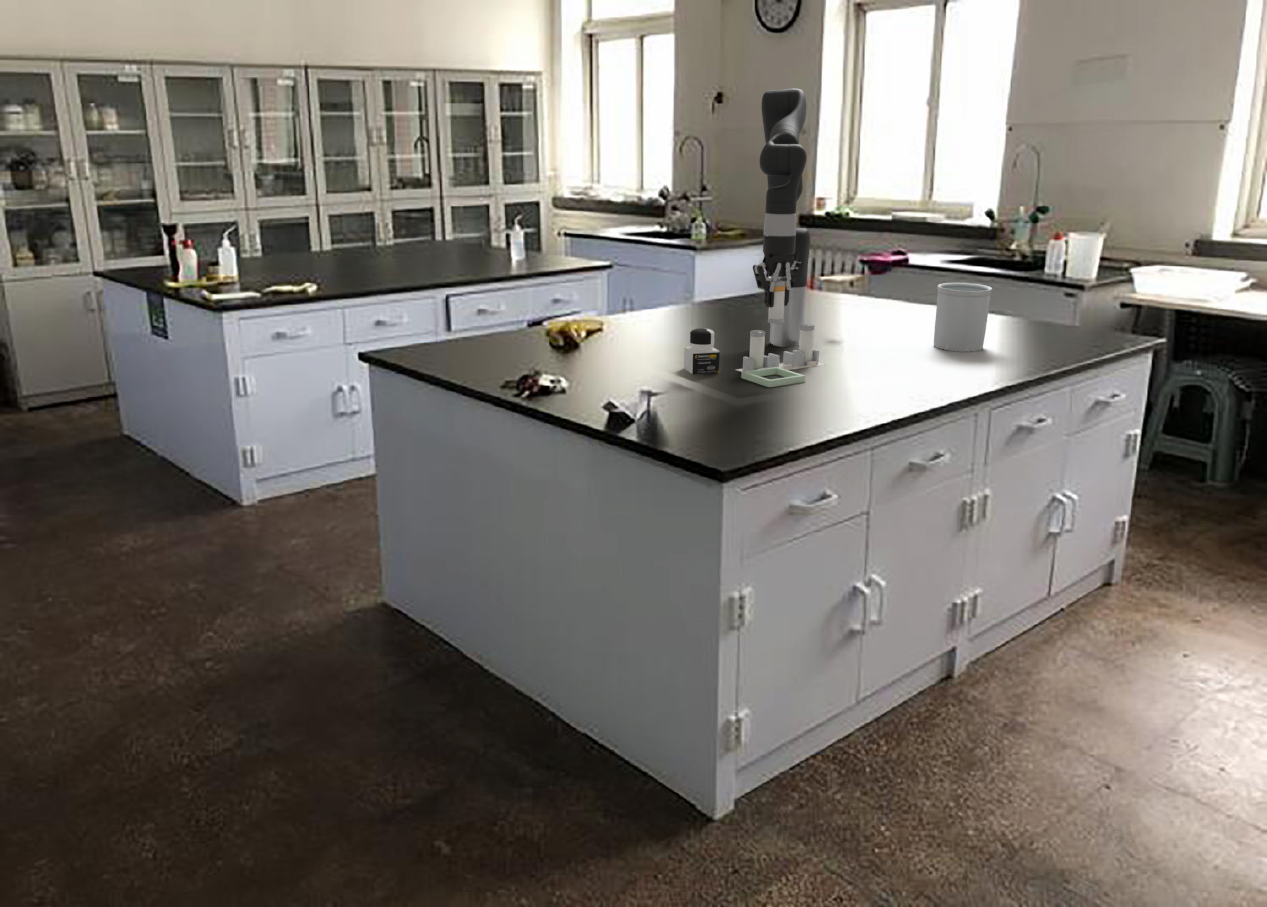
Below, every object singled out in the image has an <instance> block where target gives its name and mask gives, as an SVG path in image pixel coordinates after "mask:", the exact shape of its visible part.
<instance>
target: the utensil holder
mask: <svg viewBox="0 0 1267 907" xmlns="http://www.w3.org/2000/svg"><path fill="white" fill-rule="evenodd" d="M992 292H993V287H991V286H988V285H985V284H980V283H973V282H972V283H970V282H944V283H939V284H938V285H937V299H936V312H935V321H934V331H933V332H934V334H933V336H934V337H933V347H935V348H937V349H939V350H943V349H944V350H943V351H950V352H958V351H959V352H960V353H966V351H968V352H967V353H970V351H973V352H979V351H981V349H982V350H983V348H984V342H985V336H986V330H987V324H988V323H987V322H988V315H989V308H990V302H991V294H992ZM978 350H979V351H978Z"/></svg>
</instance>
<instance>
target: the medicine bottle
mask: <svg viewBox="0 0 1267 907" xmlns="http://www.w3.org/2000/svg"><path fill="white" fill-rule="evenodd" d="M714 346H715V332H714V330H712V329H710V328H701V327H700V328H694V329H692V330H691V331H690V333H689V346H685V347H684V351H683V357H684V358H683V359H684V360H683V366H684V367H683V369H684V370H685V371H687V372H688V373H690V374H691V375H703V374H704V375H705V374H706V375H707V374H708V375H709V374H719V373H720V354H721V353H720V350H719V349H716V348H715V347H714Z"/></svg>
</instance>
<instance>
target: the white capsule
mask: <svg viewBox="0 0 1267 907" xmlns="http://www.w3.org/2000/svg"><path fill="white" fill-rule="evenodd" d="M814 339H815V324H808V323H807V324H806V323H805V324H803V325H800V340H799V345H798V351H801V352H804V364H803V365H807V362H810V361H813V360H812V359H813V349H814Z"/></svg>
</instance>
